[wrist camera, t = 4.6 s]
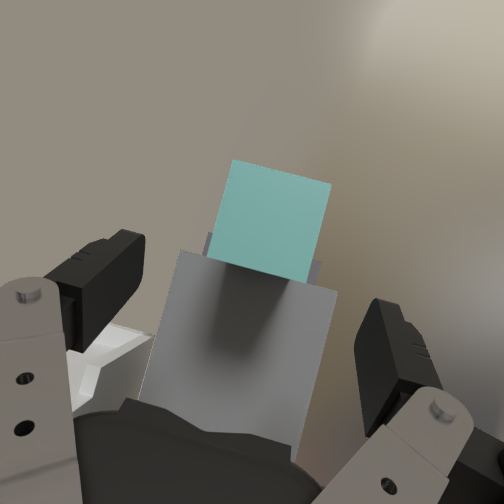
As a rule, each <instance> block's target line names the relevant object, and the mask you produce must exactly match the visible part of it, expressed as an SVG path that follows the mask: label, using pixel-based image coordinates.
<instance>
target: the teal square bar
mask: <svg viewBox="0 0 504 504" xmlns="http://www.w3.org/2000/svg"><path fill="white" fill-rule="evenodd" d="M330 189H331V184H328V183H324V182H320V181H317V180H312V179H309V178H304V177H301V176H297V175H292V174H289V173H285V172H281V171H277V170H273V169H269V168H265V167H262V166H258V165H253V164H250V163H246V162H242V161H238V160H234V159H233V161H232V165H231V169H230V172H229V176H228V180H227V183H226V187H225V191H224V195H223V198H222V202H221V205H220V209H219V213H218V216H217V220H216V224H215V228H214V231H213V235H212V238H211V242H210V246H209V249H208V253H207V257H209V258H213V259H216V260H220V261H224V262H227V263H231V264H235V265H239V266H242V267H246V268H250V269H254V270H257V271H261V272H265V273H268V274H272V275H276V276H280V277H283V278H287V279H291V280H295V281H298V282H302V283H306V281H307V277H308V274H309V270H310V266H311V262H312V258H313V254H314V250H315V247H316V243H317V239H318V235H319V231H320V227H321V224H322V220H323V216H324V212H325V208H326V204H327V200H328V197H329V193H330Z"/></svg>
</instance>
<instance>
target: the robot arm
mask: <svg viewBox="0 0 504 504" xmlns="http://www.w3.org/2000/svg"><path fill="white" fill-rule="evenodd" d="M144 252H145V236H144V235H143V234H139V233H136V232H132V231H128V230H124V229H121V230H120V231H118V232H117V233H116V234H115V235H114V236H112V237H111V238H110V239H108V240H107V239H100V240H97V241H95V242H92V243H89V244H87V245H86V246H85V247H84V248H82V249H81V250H80V251H79V252H77V253H75V254H74V255H73V256H71V258H69V259H67V260H66V261H64V262H63V263H62V264H60V265H59V266H58V267H56V268H55V269H54V270H52V271H51V272H50V273H48V274H47V275H45V276H44V277H43V278H41V277H26V278H20V279H16V280H13V281H10V282H8V283H6V284H4V285H3V286H2V287H1V288H0V504H504V442H502V441H500V440H498V439H496V438H494V437H493V436H491V435H489V434H486V433H485V432H483V431H481V430H479V429H478V428H476V427H474V423H473V420H472V417H471V415H470V414H469V412H468V411H467V409H466V408H465V407H464V406H463V405H462V404H461V403H460V402H459V401H458V400H457V399H456V398H454V397H453V396H451V395H450V394H448V393H447V392H445V391H444V390H443V388H442V385H441V383H440V380H439V378H438V375H437V373H436V370H435V368H434V365H433V363H432V360H431V359H430V355H429V353H428V350H427V349H426V345H425V343H424V340H423V338H422V335H421V334H420V333H419V332H418V330H417V329H416V328H415V327H414V326H413V325H412V324H411V323H409V322H406V321H405V320H404V317H403V315H402V312H401V309H400V307H399V305H398V304H395V303H391V302H388V301H385V300H381V299H377V298H375V299H374V300H373V301H372V302H371V304H370V307H369V309H368V311H367V313H366V315H365V318H364V320H363V322H362V324H361V326H360V329H359V331H358V333H357V335H356V339H355V344H354V355H355V362H356V370H357V377H358V385H359V392H360V400H361V407H362V415H363V422H364V430H365V437H368V438H370V439H369V440H368V441H367V442H366V443H365V444H364V445H363V446H362V448H361V449H360V450H359V451H358V452H357V453H356V454H355V455H354V456H353V457H352V459H351V460H350V461H349V462H348V463H347V464H346V465H345V466H344V467H343V469H342V470H341V471H340V472H339V473H338V474H337V475H336V476H335V478H334V479H333V480H332V481H331V482H330V483H329V484H328V485H327V486H326V487H325V489H324V490H323V488H322V487H321V486H320V485H319V484H318V483H317V482H316V481H315V480H314V478H312V477H311V476H310V475H309V474H308V473H307V472H306V471H305V470H303V469H302V468H300V467H299V466H298V465H297V464H295V463H293V462H292V461H290V459H291V445H287V444H284V443H280V442H277V441H274V440H270V439H267V438H263V437H260V436H257V435H253V434H248V433H225V432H207V431H203V430H201V429H199V428H198V427H196V426H194V425H193V424H191V423H189V422H188V421H186V420H184V419H182V418H181V417H179V416H177V415H176V414H174V413H172V412H171V411H169V410H167V409H165V408H161V407H158V406H155V405H151V404H148V403H144V402H141V401H138V400H134V399H131V398H127V397H126V398H125V400H124V402H123V403H122V405H121V407H120V408H119V410H104V411H97V412H91V413H87V414H84V415H80V416H77V417H75V418H73V414H72V404H71V395H70V385H69V375H68V366H67V356H66V352H67V351H68V350H72V351H76V352H79V353H84V352H85V351H86V350H87V349H88V347H89V346H90V345H91V344H92V343H93V341H94V340H95V339H96V338H97V337H98V335H99V334H100V333H101V332H102V331H103V329H104V328H105V327H106V326H107V325H108V324H109V322H110V321H111V320H112V319H113V318H114V316H115V315H116V314H117V313H118V312H119V310H120V309H121V308H122V307H123V306H124V304H125V303H126V302H127V301H128V300H129V298H130V297H131V296H132V295H133V294H134V292H135V291H136V290H137V288H138V287H139V285H140V282H141V279H142V275H143V265H144Z"/></svg>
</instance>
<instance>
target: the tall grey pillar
mask: <svg viewBox="0 0 504 504" xmlns="http://www.w3.org/2000/svg"><path fill="white" fill-rule="evenodd" d="M212 235H213V233H211V232H208V235H207V239H206V243H205V246H204V250H203V254H202V255H200V254H196V253H192V252H188V251H184V250H181V249H180V252H179V256H178V259H177V263H176V267H175V270H174V274H173V277H172V281H171V285H170V288H169V292H168V295H167V299H166V303H165V306H164V310H163V314H162V317H161V321H160V324H159V328H158V332H157V335H156V339H155V342H154V346H153V350H152V353H151V357H150V360H149V364H148V368H147V371H146V375H145V379H144V382H143V386H142V389H141V393H140V397H139V400H138V401H141V402H144V403H148V404H151V405H155V406H158V407H161V408H165V409H167V410H169V411H171V412H172V413H174V414H176V415H177V416H179V417H181V418H182V419H184V420H186V421H188V422H189V423H191V424H193V425H194V426H196V427H198V428H199V429H201V430H203V431H207V432H225V433H248V434H253V435H257V436H260V437H263V438H267V439H270V440H274V441H277V442H280V443H284V444H287V445H291V459H290V461H292V462H293V463H294V462H295V458H296V454H297V450H298V446H299V443H300V439H301V435H302V431H303V426H304V423H305V419H306V415H307V411H308V407H309V403H310V399H311V396H312V392H313V387H314V384H315V380H316V376H317V372H318V368H319V364H320V360H321V356H322V353H323V349H324V345H325V341H326V337H327V333H328V329H329V325H330V321H331V317H332V314H333V309H334V306H335V302H336V298H337V294H338V292H337V291H334V290H330V289H327V288H323V287H319V286H316V282H317V279H318V275H319V271H320V267H321V263H322V262H320V261H317V260H313V259H312V262H311V266H310V270H309V274H308V277H307V281H306V283H302V282H298V281H295V280H291V279H287V278H283V277H280V276H276V275H272V274H268V273H265V272H261V271H257V270H254V269H250V268H246V267H242V266H239V265H235V264H231V263H227V262H224V261H220V260H216V259H213V258H209V257H207V253H208V249H209V246H210V242H211V238H212Z"/></svg>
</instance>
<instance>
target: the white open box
mask: <svg viewBox="0 0 504 504" xmlns="http://www.w3.org/2000/svg"><path fill="white" fill-rule="evenodd" d="M154 337H155V335H152V334H148V333H145V332H142V331H137V330H134V329H131V328H127V327H124V326H120V325H116V324H113V323H109V324H108V325H107V326H106V327H105V328H104V329H103V331H102V332H101V333H100V334H99V335H98V337H97V338H96V339H95V340H94V341H93V343H92V344H91V345H90V346H89V347H88V349H87V350H86V351H85V352H84V353H79V352H76V351H72V350H68V351H67V352H66V356H67V366H68V375H69V385H70V395H71V404H72V414H73V418H75V417H77V416H80V415H84V414H87V413H91V412H97V411H104V410H119V408H120V407H121V405H122V403H123V402H124V400H125V398H126V397H127V398H131V399H134V400H137V399H138V395H139V392H140V388H141V384H142V381H143V377H144V374H145V370H146V367H147V363H148V359H149V356H150V352H151V348H152V345H153V341H154Z"/></svg>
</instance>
